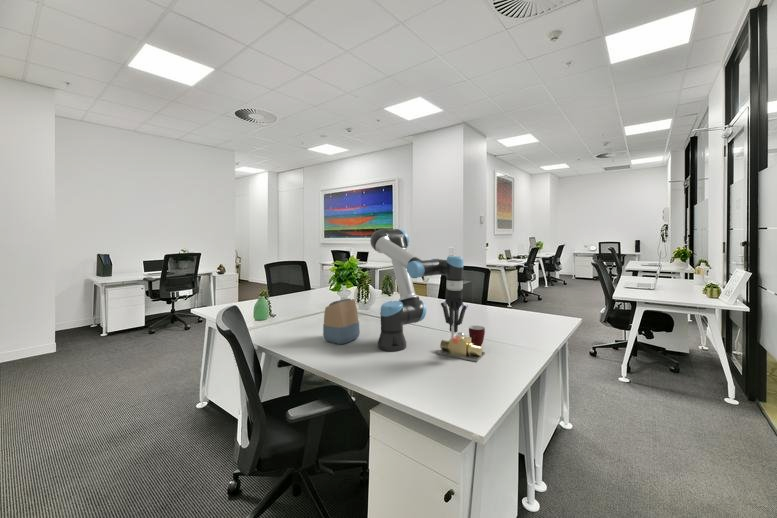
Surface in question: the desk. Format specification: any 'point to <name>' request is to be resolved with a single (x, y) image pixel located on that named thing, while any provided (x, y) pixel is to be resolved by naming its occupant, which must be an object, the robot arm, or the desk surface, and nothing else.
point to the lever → (458, 338)
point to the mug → (477, 335)
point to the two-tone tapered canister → (341, 322)
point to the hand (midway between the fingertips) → (453, 338)
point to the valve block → (461, 349)
